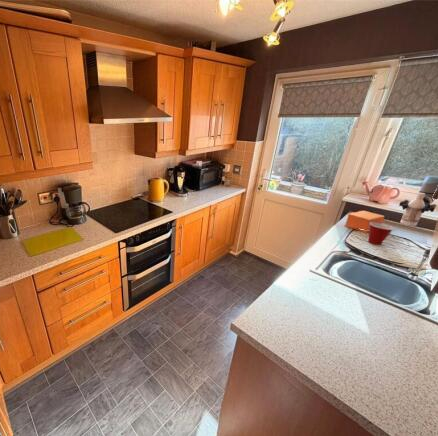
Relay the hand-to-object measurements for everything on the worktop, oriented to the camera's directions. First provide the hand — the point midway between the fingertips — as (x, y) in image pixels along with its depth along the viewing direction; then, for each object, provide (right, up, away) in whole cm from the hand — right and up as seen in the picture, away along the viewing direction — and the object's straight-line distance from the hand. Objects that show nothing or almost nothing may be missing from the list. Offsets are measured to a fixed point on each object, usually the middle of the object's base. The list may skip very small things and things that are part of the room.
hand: (413, 209), depth 136 cm
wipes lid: (-4, -4, +25) cm, 26 cm away
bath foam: (+4, -9, +7) cm, 12 cm away
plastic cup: (-17, -21, +6) cm, 27 cm away
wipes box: (-4, -12, +29) cm, 31 cm away
